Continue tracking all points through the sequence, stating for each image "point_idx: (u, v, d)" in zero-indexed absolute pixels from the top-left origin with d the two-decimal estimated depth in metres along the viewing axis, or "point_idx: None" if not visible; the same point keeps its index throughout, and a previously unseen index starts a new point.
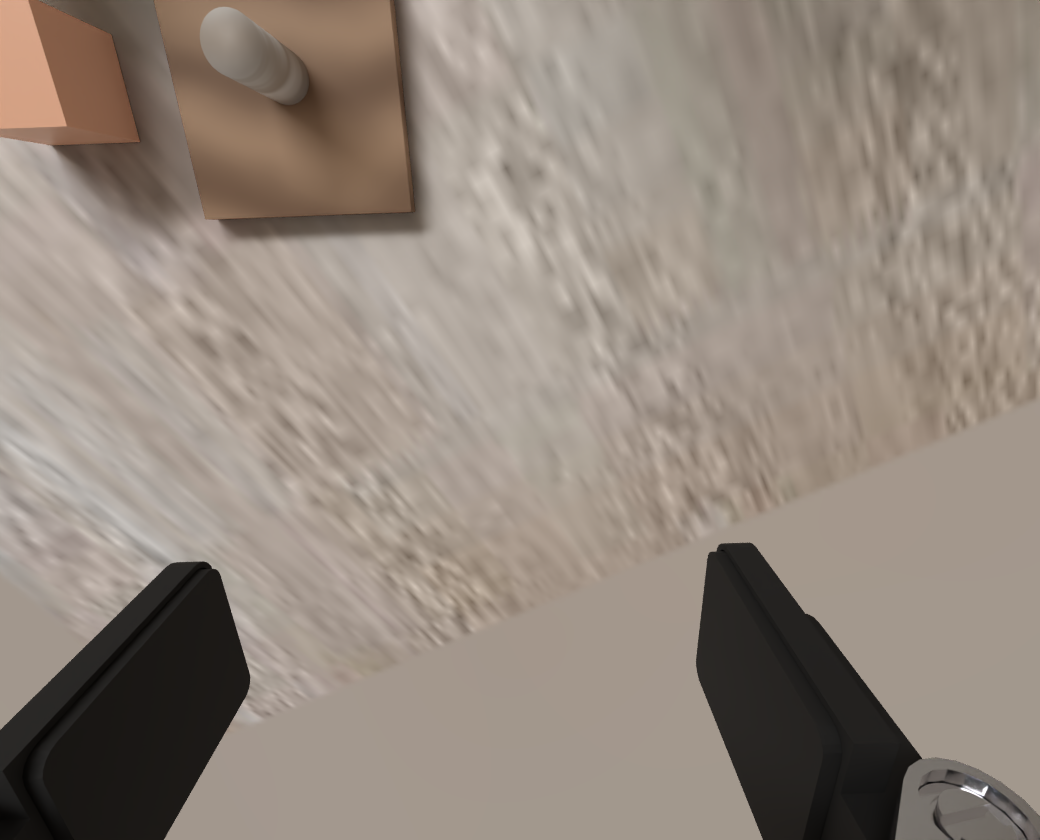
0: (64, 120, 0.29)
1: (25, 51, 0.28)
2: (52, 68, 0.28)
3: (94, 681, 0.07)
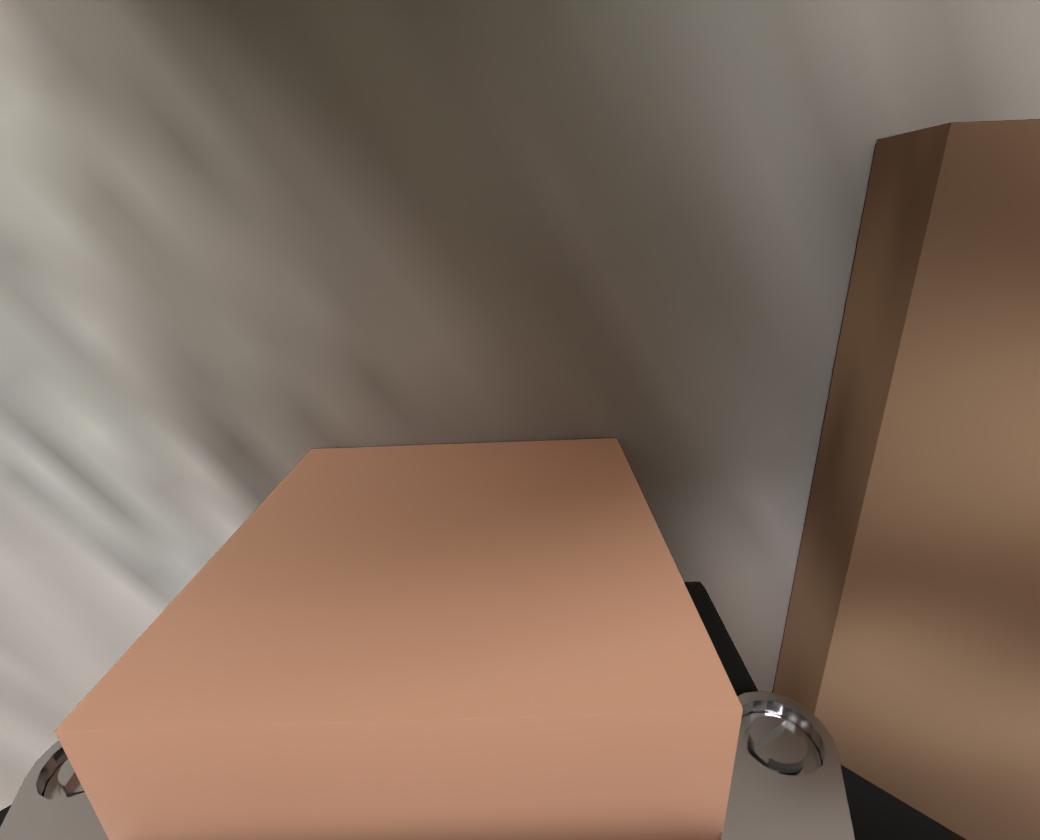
0: None
1: None
2: None
3: None
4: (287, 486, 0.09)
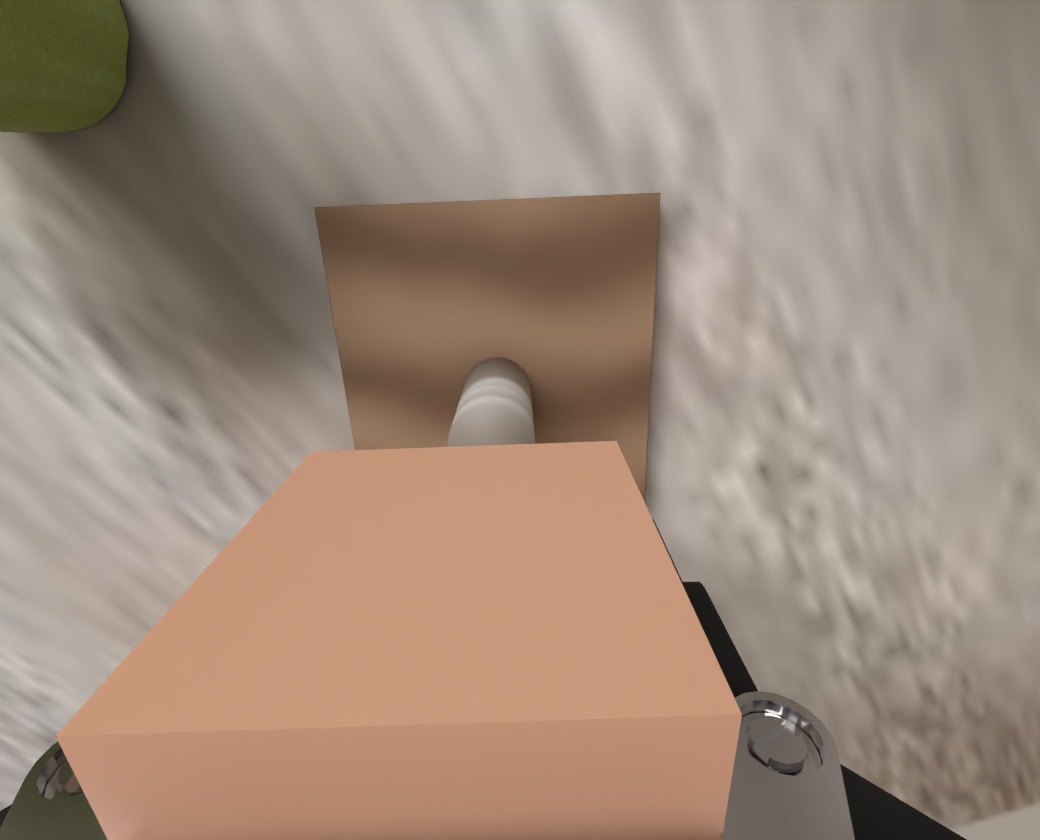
0: None
1: None
2: None
3: None
4: (287, 489, 0.09)
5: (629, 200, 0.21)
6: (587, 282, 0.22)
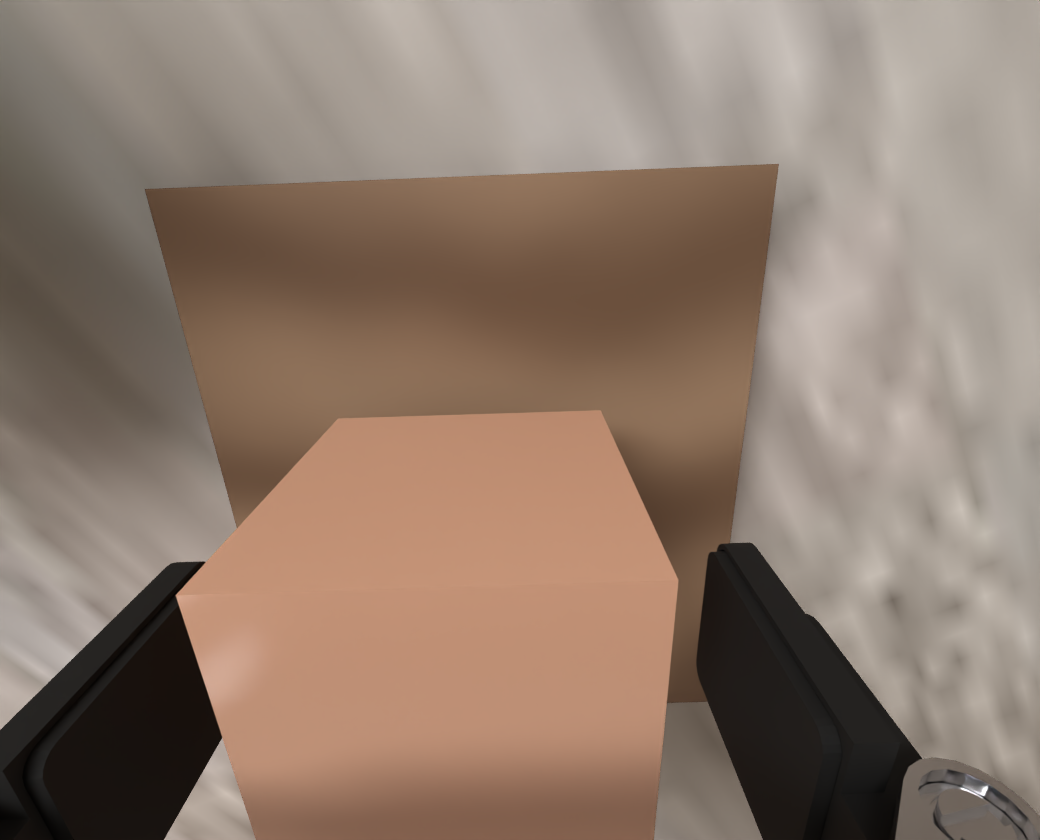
0: None
1: (592, 731, 0.07)
2: None
3: (94, 681, 0.07)
4: (322, 445, 0.10)
5: (720, 178, 0.11)
6: (638, 323, 0.13)
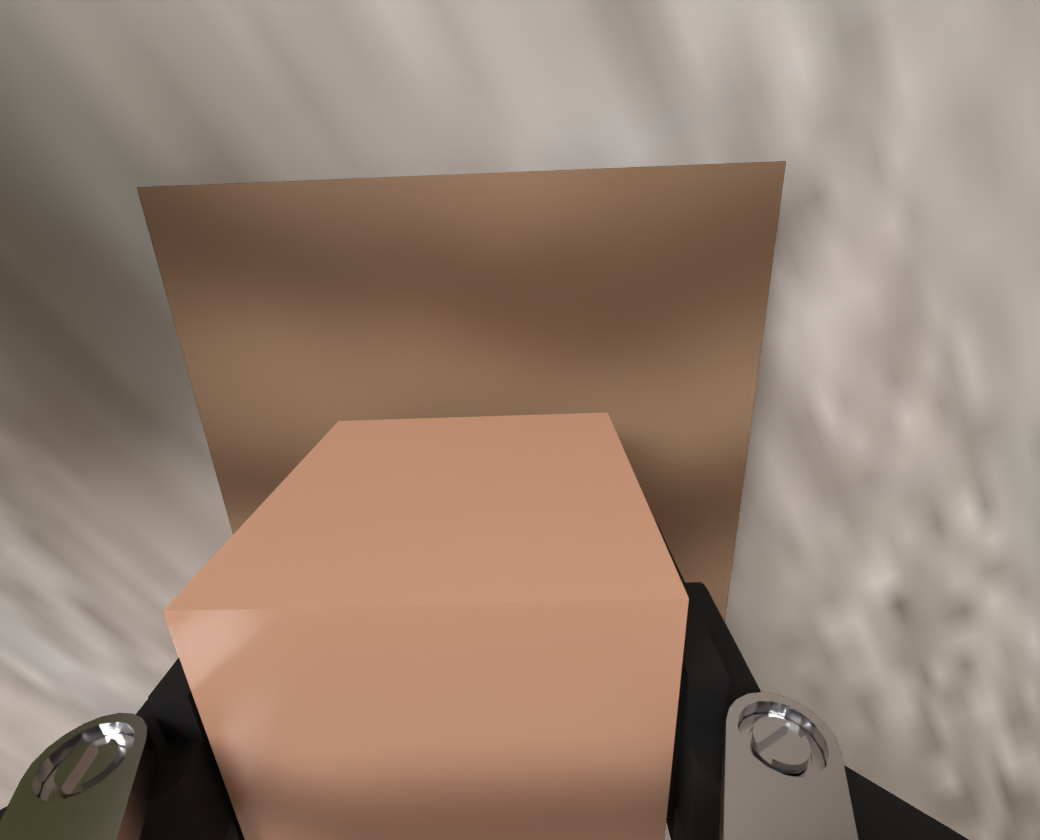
0: None
1: (597, 752, 0.07)
2: None
3: None
4: (321, 449, 0.10)
5: (726, 175, 0.11)
6: (642, 324, 0.12)
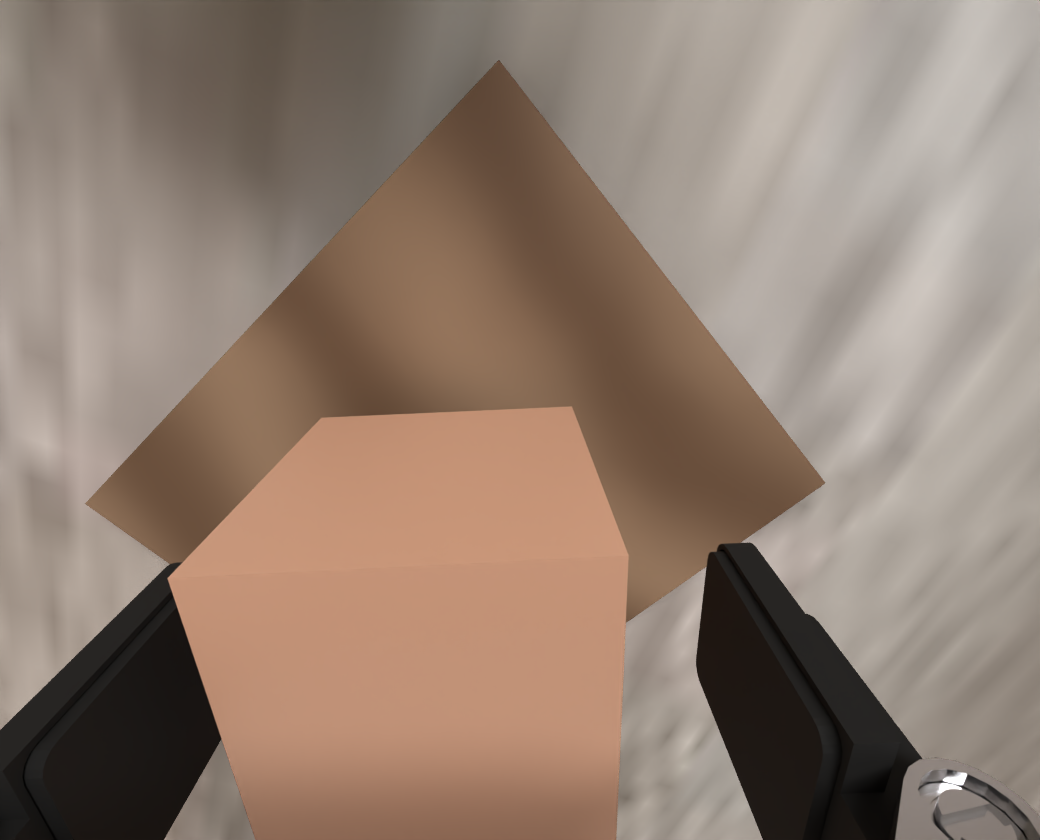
0: (609, 833, 0.09)
1: (556, 698, 0.08)
2: None
3: (94, 681, 0.07)
4: (306, 442, 0.11)
5: (796, 459, 0.15)
6: (673, 488, 0.15)
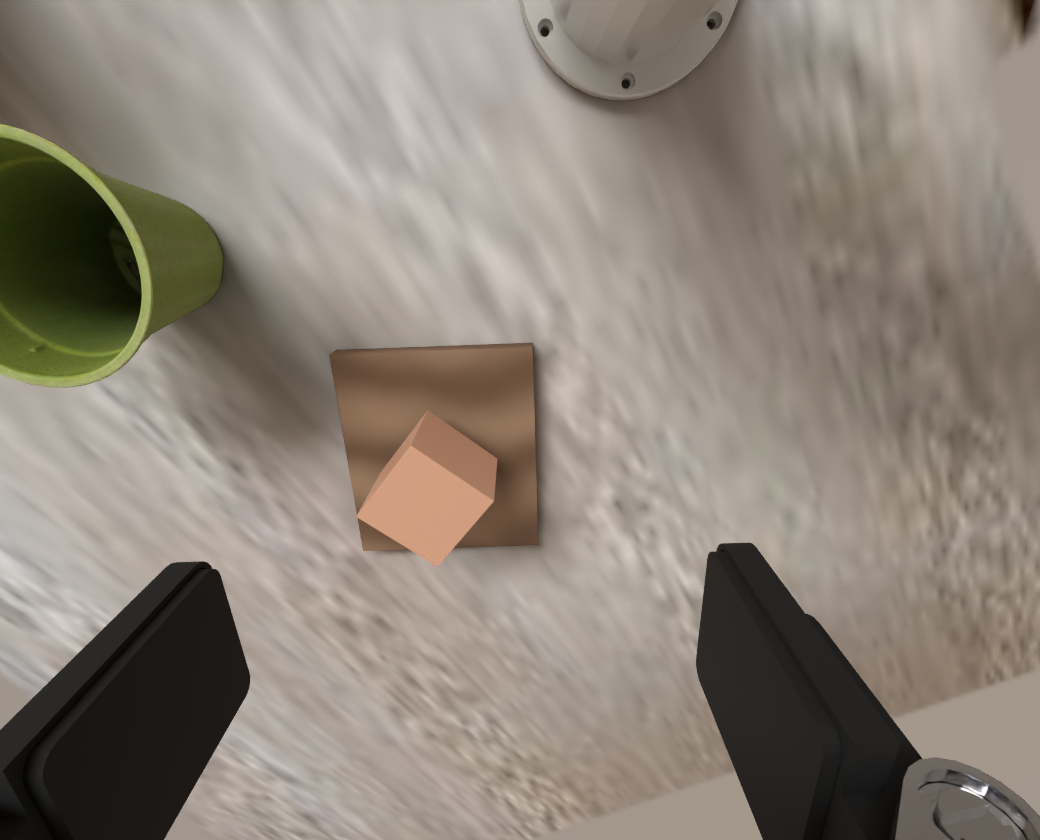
0: (489, 499, 0.31)
1: (435, 480, 0.30)
2: (456, 473, 0.31)
3: (94, 681, 0.07)
4: (376, 480, 0.35)
5: (514, 351, 0.35)
6: (493, 396, 0.36)
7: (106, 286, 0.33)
